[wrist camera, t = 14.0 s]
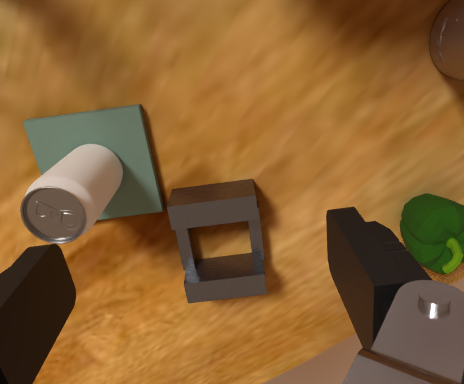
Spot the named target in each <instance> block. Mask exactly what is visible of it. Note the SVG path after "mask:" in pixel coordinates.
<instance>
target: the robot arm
mask: <svg viewBox="0 0 464 384" xmlns="http://www.w3.org/2000/svg"><path fill="white" fill-rule="evenodd" d="M430 53H431V57H432V60H433V62H434V64H435V66H436V67H437V68H438V69H439V70H440V71H441V72H442V73H443V74H445V75H446V76H448V77H451V78H454V79H458V80H463V81H464V0H450V1H449V2H448V3H447V4H446V5H445V7H444V8H443V9H442V10H441V11H440V13H439V15H438V17H437V18H436V20H435V22H434V25H433V28H432V31H431V36H430ZM326 221H327V251H328V263H329V268H330V272H331V276H332V278H333V280H334V283H335V285H336V287H337V290H338V292H339V294H340V296H341V299H342V301H343V303H344V306H345V308H346V310H347V312H348V315H349V317H350V319H351V322H352V324H353V326H354V328H355V331H356V333H357V335H358V338H359V340H360V342H361V344H362V347H363V348H362V349H361V350H360V351H359V352H358V354H357V355H356V357H355V359H354V362H353V363H352V365H351V367H350V369H349V371H348V374H347V375H346V377H345V379H344V382H343V384H464V293H463V292H462V291H460V290H459V289H457V288H455V287H453V286H451V285H448V284H445V283H442V282H438V281H433V280H432V279H431V278H430V276H429V275H428V274H427V273H426V272H425V270H424V269H423V268H422V267H421V266H420V264H419V263H418V262H417V261H416V260H415V258H414V257H413V256H412V255H411V254H410V252H409V251H407V250H406V248H405V246H404V245H403V244H402V243H401V242H399V239H398V238H397V237H396V236H395V234H394V233H393V232H392V231H391V230H390V229H389V228H387V227H385V226H383V225H381V224H380V223H378V222H376V221H372V222H365V221H364V219H363V218H362V217H361V215H360V214H359V213H358V211H357V210H356V209H355V207H348V208H340V209H332V210H328V211H327V216H326ZM75 301H76V289H75V285H74V283H73V280H72V277H71V274H70V272H69V269H68V266H67V264H66V261H65V258H64V255H63V253H62V250H61V248H60V247H59V246H58V245H56V244H49V245H42V246H34V247H29V248H27V249H26V250H25V251H24V252H23V253H22V254H21V256H20V257H19V258H18V259H17V260H16V261H15V262H14V263H13V264H12V266H11V267H9V268H8V269H6V270H5V271H3V272H2V273H1V274H0V384H32V383H33V382H34V380H35V378H36V376H37V374H38V372H39V371H40V369H41V367H42V365H43V363H44V361H45V359H46V358H47V356H48V354H49V352H50V350H51V348H52V346H53V345H54V343H55V341H56V339H57V337H58V335H59V333H60V332H61V330H62V328H63V326H64V324H65V322H66V321H67V319H68V317H69V315H70V313H71V311H72V309H73V307H74V305H75Z"/></svg>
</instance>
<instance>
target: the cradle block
mask: <svg viewBox="0 0 464 384" xmlns="http://www.w3.org/2000/svg"><path fill="white" fill-rule="evenodd" d="M167 211H168V215H169V220H170V224H171V229H172V230H175V232H176V237H177V241H178V246H179V251H180V255H181V260H182V264H183V269H184V270H186V273H185V280H184V287H185V292H186V296H187V300H188V303H195V302H204V301H212V300H220V299H229V298H237V297H245V296H254V295H262V294H267V288H266V279H265V272H264V266H263V260H265V257H264V248H263V240H262V231H261V222H260V213H259V206H258V201H257V200H256V193H255V188H254V183H253V179H248V180H240V181H232V182H225V183H217V184H209V185H202V186H194V187H186V188H178V189H172V192H171V195H170V198H169V201H168V204H167ZM242 221H248V224H249V232H250V240H251V248H252V253H247V254H239V255H231V256H223V257H215V258H206V259H198V260H196V257H195V252H194V247H193V242H192V237H191V232H190V228H194V227H202V226H210V225H218V224H226V223H234V222H242Z"/></svg>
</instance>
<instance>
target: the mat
mask: <svg viewBox="0 0 464 384" xmlns="http://www.w3.org/2000/svg"><path fill="white" fill-rule="evenodd" d="M23 125H24V128H25V130H26V133H27V136H28V139H29V142H30V144H31V147H32V150H33V153H34V155H35V158H36V161H37V164H38V167H39V169H40V172H41V175H43V174H44V173H45V172H47V171H48V170H49V169H50V168H52V167H53V166H54V165H55V164H57V163H58V162H59V161H60V160H62V159H63V158H64V157H65V156H67V155H68V154H69V153H70V152H72V151H73V150H74V149H76V148H77V147H79V146H82V145H85V144H97V145H101V146H104V147H106V148H108V149H109V150H111V151H112V152H113V153H114V154H115V155H116V156H117V157H118V159H119V161H120V163H121V165H122V169H123V177H122V181H121V184H120V186H119V188H118V189H117V191H116V192H115V194H114V195H113V197H112V198H111V200H110V201H109V203H108V204H107V206H106V207H105V209H104V210H103V212H102V213H101V215H100V216H99V218H98V219H97V220H101V219H109V218H117V217H125V216H133V215H141V214H148V213H156V212H163V209H164V205H163V201H162V196H161V192H160V188H159V183H158V179H157V174H156V170H155V165H154V161H153V157H152V152H151V148H150V143H149V139H148V134H147V130H146V126H145V121H144V117H143V112H142V108H141V104H138V105H131V106H124V107H116V108H109V109H102V110H94V111H87V112H80V113H72V114H65V115H58V116H50V117H43V118H36V119H28V120H26V121H24V122H23Z"/></svg>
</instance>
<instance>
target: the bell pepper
mask: <svg viewBox="0 0 464 384" xmlns="http://www.w3.org/2000/svg"><path fill="white" fill-rule="evenodd" d="M401 216H402V220H401V222H400V230H401V235H402V238H403V241H404V243H405V246H406V248H407V250H408V251H409V252H410V254H411V255H412V256H413V257H414V258H415V260H416V261H417V262H418V263H419V264H420V265H421V266H423V267H426V268H428V269H430V270H433V271H435V272H437V273H440V274H443V275H444V274H448V273H450V272H452V271H454V270H456V269H457V267H458V266H459V265H460V263H461V262H464V205H461V204H458V203H456V202H454V201H451V200H449V199H446V198H442V197H439V196H435V195H432V194H428V193H427V194H423V195H420V196H417V197H414V198H412V199H411V200H410V201H409V202H408V203H406V204H405V205H404V209H403V212H402V215H401Z"/></svg>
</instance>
